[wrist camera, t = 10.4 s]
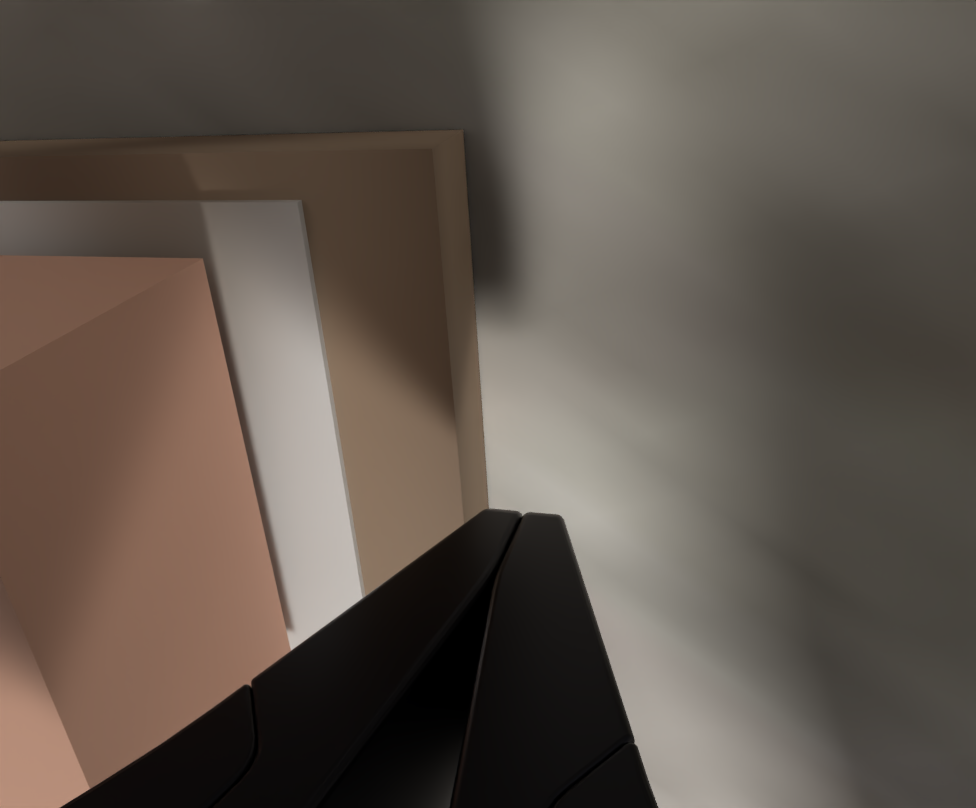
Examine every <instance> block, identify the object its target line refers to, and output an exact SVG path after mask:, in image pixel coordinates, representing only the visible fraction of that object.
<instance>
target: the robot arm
mask: <svg viewBox="0 0 976 808" xmlns="http://www.w3.org/2000/svg"><path fill="white" fill-rule="evenodd" d="M634 742H635V740H634V736H633V733H632V730H631V727H630V724H629V721H628V718H627V714H626V711H625V708H624V705H623V702H622V699H621V696H620V693H619V690H618V686H617V683H616V680H615V677H614V674H613V671H612V668H611V665H610V662H609V658H608V655H607V652H606V649H605V646H604V643H603V640H602V637H601V634H600V631H599V627H598V624H597V621H596V618H595V615H594V612H593V609H592V606H591V603H590V599H589V596H588V593H587V590H586V587H585V584H584V581H583V578H582V575H581V571H580V568H579V565H578V562H577V559H576V556H575V553H574V550H573V547H572V543H571V540H570V537H569V534H568V531H567V528H566V525H565V522H564V519H563V518H562V517H561V516H560V515H556V514H545V513H533V512H529V513H526V514H524V516H522V514H521V513H520V512H518V511H511V510H500V509H484V510H483V511H481V512H479V513H478V514H477V515H475V516H474V517H473V518H471V519H470V520H468V521H467V522H466V523H464V524H463V525H462V526H460V527H459V528H458V529H456V530H455V531H453V532H452V533H451V534H449V535H448V536H447V537H445V538H444V539H443V540H441V541H440V542H438V543H437V544H436V545H434V546H433V547H432V548H430V549H429V550H428V551H426V552H425V553H423V554H422V555H421V556H419V557H418V558H417V559H415V560H414V561H413V562H411V563H410V564H408V565H407V566H406V567H404V568H403V569H402V570H400V571H399V572H398V573H396V574H395V575H393V576H392V577H391V578H389V579H388V580H387V581H385V582H384V583H382V584H381V585H380V586H378V587H377V588H376V589H374V590H373V591H372V592H370V593H369V594H367V595H366V596H365V597H363V598H362V599H361V600H359V601H358V602H357V603H355V604H354V605H352V606H351V607H350V608H348V609H347V610H346V611H344V612H343V613H342V614H340V615H339V616H337V617H336V618H335V619H333V620H332V621H331V622H329V623H328V624H327V625H325V626H324V627H322V628H321V629H320V630H318V631H317V632H316V633H314V634H313V635H312V636H310V637H309V638H307V639H306V640H305V641H303V642H302V643H301V644H299V645H298V646H297V647H295V648H294V649H292V650H291V651H290V652H288V653H287V654H286V655H284V656H283V657H282V658H280V659H279V660H277V661H276V662H275V663H273V664H272V665H271V666H269V667H268V668H266V669H265V670H264V671H262V672H261V673H260V674H258V675H257V676H256V677H254V678H253V679H252V681H251V686H250V685H248V684H245V685H243V686H241V687H240V688H239V689H237V690H236V691H235V692H233V693H232V694H231V695H229V696H228V697H226V698H225V699H224V700H222V701H221V702H220V703H218V704H217V705H215V706H214V707H213V708H211V709H210V710H208V711H207V712H206V713H204V714H203V715H201V716H200V717H198V718H197V719H196V720H194V721H193V722H191V723H190V724H188V725H187V726H186V727H184V728H183V729H181V730H180V731H178V732H177V733H176V734H174V735H173V736H171V737H170V738H168V739H167V740H166V741H164V742H163V743H161V744H160V745H158V746H157V747H155V748H153V749H152V750H150V751H149V752H147V753H146V754H144V755H143V756H141V757H139V758H138V759H136V760H135V761H133V762H132V763H130V764H128V765H127V766H125V767H124V768H122V769H121V770H119V771H118V772H116V773H114V774H113V775H111V776H110V777H108V778H107V779H105V780H103V781H102V782H100V783H99V784H97V785H95V786H94V787H92V788H91V789H89V790H87V791H86V792H84V793H82V794H81V795H79V796H78V797H76V798H74V799H73V800H71V801H69V802H68V803H66V804H65V805H63V806H61V807H60V808H658V806H657V803H656V800H655V797H654V795H653V792H652V789H651V786H650V784H649V781H648V778H647V775H646V772H645V769H644V766H643V763H642V759H641V756H640V753H639V750H638V747H637V746H636V745H635V744H634Z"/></svg>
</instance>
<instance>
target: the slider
mask: <svg viewBox="0 0 976 808" xmlns="http://www.w3.org/2000/svg"><path fill="white" fill-rule="evenodd" d="M290 651H291V649H290V644H289V640H288V635H287V631H286V626H285V622H284V617H283V613H282V609H281V604H280V600H279V595H278V591H277V586H276V582H275V577H274V573H273V568H272V564H271V560H270V555H269V551H268V546H267V542H266V537H265V533H264V528H263V524H262V520H261V515H260V511H259V506H258V502H257V497H256V493H255V488H254V484H253V479H252V475H251V471H250V466H249V462H248V457H247V453H246V448H245V444H244V439H243V435H242V431H241V426H240V422H239V417H238V413H237V408H236V404H235V399H234V395H233V390H232V386H231V382H230V377H229V373H228V368H227V364H226V359H225V355H224V350H223V346H222V342H221V337H220V333H219V328H218V324H217V319H216V315H215V310H214V306H213V302H212V297H211V293H210V288H209V284H208V279H207V275H206V270H205V266H204V261H203V258H148V257H82V256H17V255H0V808H60V807H61V806H63V805H65V804H66V803H68V802H69V801H71V800H73V799H74V798H76V797H78V796H79V795H81V794H82V793H84V792H86V791H87V790H89V789H91V788H92V787H94V786H95V785H97V784H99V783H100V782H102V781H103V780H105V779H107V778H108V777H110V776H111V775H113V774H114V773H116V772H118V771H119V770H121V769H122V768H124V767H125V766H127V765H128V764H130V763H132V762H133V761H135V760H136V759H138V758H139V757H141V756H143V755H144V754H146V753H147V752H149V751H150V750H152V749H153V748H155V747H157V746H158V745H160V744H161V743H163V742H164V741H166V740H167V739H168V738H170V737H171V736H173V735H174V734H176V733H177V732H178V731H180V730H181V729H183V728H184V727H186V726H187V725H188V724H190V723H191V722H193V721H194V720H196V719H197V718H198V717H200V716H201V715H203V714H204V713H206V712H207V711H208V710H210V709H211V708H213V707H214V706H215V705H217V704H218V703H220V702H221V701H222V700H224V699H225V698H226V697H228V696H229V695H231V694H232V693H233V692H235V691H236V690H237V689H239V688H240V687H241V686H243V685H245V684H248V685H250V686H251V681H252V679H253V678H254V677H256V676H257V675H258V674H260V673H261V672H262V671H264V670H265V669H266V668H268V667H269V666H271V665H272V664H273V663H275V662H276V661H277V660H279V659H280V658H282V657H283V656H284V655H286V654H287V653H288V652H290Z"/></svg>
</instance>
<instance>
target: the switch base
mask: <svg viewBox="0 0 976 808" xmlns="http://www.w3.org/2000/svg"><path fill="white" fill-rule="evenodd" d="M0 255H17V256H82V257H148V258H203V261H204V266H205V270H206V275H207V279H208V284H209V288H210V293H211V297H212V302H213V306H214V310H215V315H216V319H217V324H218V328H219V333H220V337H221V342H222V346H223V350H224V355H225V359H226V364H227V368H228V373H229V377H230V382H231V386H232V390H233V395H234V399H235V404H236V408H237V413H238V417H239V422H240V426H241V431H242V435H243V439H244V444H245V448H246V453H247V457H248V462H249V466H250V471H251V475H252V479H253V484H254V488H255V493H256V497H257V502H258V506H259V511H260V515H261V520H262V524H263V528H264V533H265V537H266V542H267V546H268V551H269V555H270V560H271V564H272V568H273V573H274V577H275V582H276V586H277V591H278V595H279V600H280V604H281V609H282V613H283V617H284V622H285V626H286V631H287V635H288V640H289V644H290V649H291V650H292V649H294V648H295V647H297V646H298V645H299V644H301V643H302V642H303V641H305V640H306V639H307V638H309V637H310V636H312V635H313V634H314V633H316V632H317V631H318V630H320V629H321V628H322V627H324V626H325V625H327V624H328V623H329V622H331V621H332V620H333V619H335V618H336V617H337V616H339V615H340V614H342V613H343V612H344V611H346V610H347V609H348V608H350V607H351V606H352V605H354V604H355V603H357V602H358V601H359V600H361V599H362V598H363V597H365V596H366V595H367V594H369V593H370V592H372V591H373V590H374V589H376V588H377V587H378V586H380V585H381V584H382V583H384V582H385V581H387V580H388V579H389V578H391V577H392V576H393V575H395V574H396V573H398V572H399V571H400V570H402V569H403V568H404V567H406V566H407V565H408V564H410V563H411V562H413V561H414V560H415V559H417V558H418V557H419V556H421V555H422V554H423V553H425V552H426V551H428V550H429V549H430V548H432V547H433V546H434V545H436V544H437V543H438V542H440V541H441V540H443V539H444V538H445V537H447V536H448V535H449V534H451V533H452V532H453V531H455V530H456V529H458V528H459V527H460V526H462V525H463V524H464V523H466V522H467V521H468V520H470V519H471V518H473V517H474V516H475V515H477V514H478V513H479V512H481V511H483V510H484V509H489V505H488V490H487V476H486V461H485V446H484V431H483V416H482V401H481V387H480V372H479V357H478V342H477V327H476V312H475V298H474V283H473V268H472V253H471V238H470V223H469V209H468V194H467V179H466V164H465V149H464V134H463V130H429V131H387V132H346V133H305V134H263V135H222V136H181V137H140V138H98V139H57V140H16V141H0Z"/></svg>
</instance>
